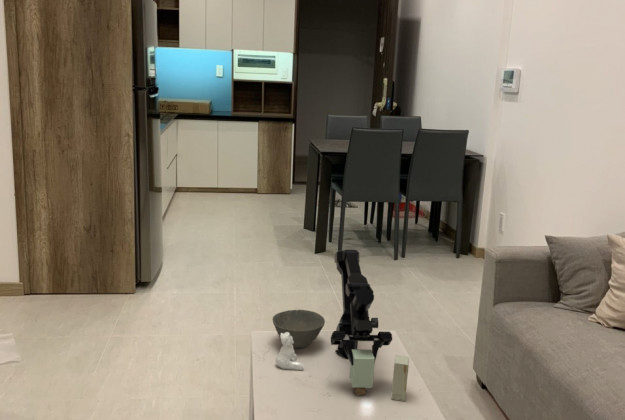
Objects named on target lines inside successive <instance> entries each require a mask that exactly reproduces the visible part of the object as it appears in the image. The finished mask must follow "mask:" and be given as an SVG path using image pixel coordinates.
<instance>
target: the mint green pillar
mask: <svg viewBox="0 0 625 420" xmlns="http://www.w3.org/2000/svg"><path fill="white" fill-rule="evenodd" d="M352 355H353V365H351V363H350V366H349V367H350V368H349V380H350V383H351V387H352V388H355V387H366V388H373V384H374V373H375V372H374V370H375V364H374V362H375V363H376V360H375V358H374V356H373V353H372V349H359V348H357V349H352Z"/></svg>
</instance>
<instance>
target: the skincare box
mask: <svg viewBox="0 0 625 420" xmlns="http://www.w3.org/2000/svg"><path fill="white" fill-rule="evenodd" d="M394 357H395V358H394V365H393V374H392V376H393V377H392V385H391V397H390V399H391V400H396V401H402V402H405V401H406V395H407V383H408V373H409V365H410V364H409V363H410V357H409V356H405V355H400V354H395V356H394Z"/></svg>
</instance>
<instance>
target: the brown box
mask: <svg viewBox="0 0 625 420" xmlns="http://www.w3.org/2000/svg"><path fill="white" fill-rule="evenodd" d="M366 392H367V387H354V393H355V395H356V396H366Z"/></svg>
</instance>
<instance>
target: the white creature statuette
mask: <svg viewBox="0 0 625 420" xmlns="http://www.w3.org/2000/svg"><path fill="white" fill-rule="evenodd" d="M280 337H281V338H280ZM279 338H280V342H281V345H282V346H281V347H280V350H279V353H278V355H276V358H275V363H276V365H277V367H279V368H280V369H283V370H290V371H291V370H293V371H303V370H304V368H305V367H304V363H303V362H300V361H297V358H298V357H297V354H296V353H295V348H293V345H292V344H293V343H294V342H293V339H292V338H293V337H292V336H290V333H288V332H285V333H284V334H283V333H281V335H280V336H279Z"/></svg>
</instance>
